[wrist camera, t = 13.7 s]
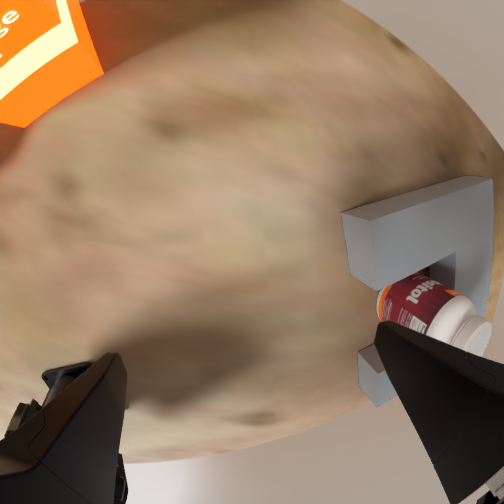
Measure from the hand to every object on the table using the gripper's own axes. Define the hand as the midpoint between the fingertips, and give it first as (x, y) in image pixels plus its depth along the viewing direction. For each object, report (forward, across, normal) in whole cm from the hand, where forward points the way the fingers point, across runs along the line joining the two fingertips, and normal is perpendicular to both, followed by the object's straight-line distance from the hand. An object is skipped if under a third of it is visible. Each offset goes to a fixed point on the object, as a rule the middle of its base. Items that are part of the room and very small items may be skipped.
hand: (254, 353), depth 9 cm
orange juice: (+13, +13, -16) cm, 24 cm away
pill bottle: (+14, -16, +8) cm, 22 cm away
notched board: (+14, -20, +7) cm, 25 cm away
